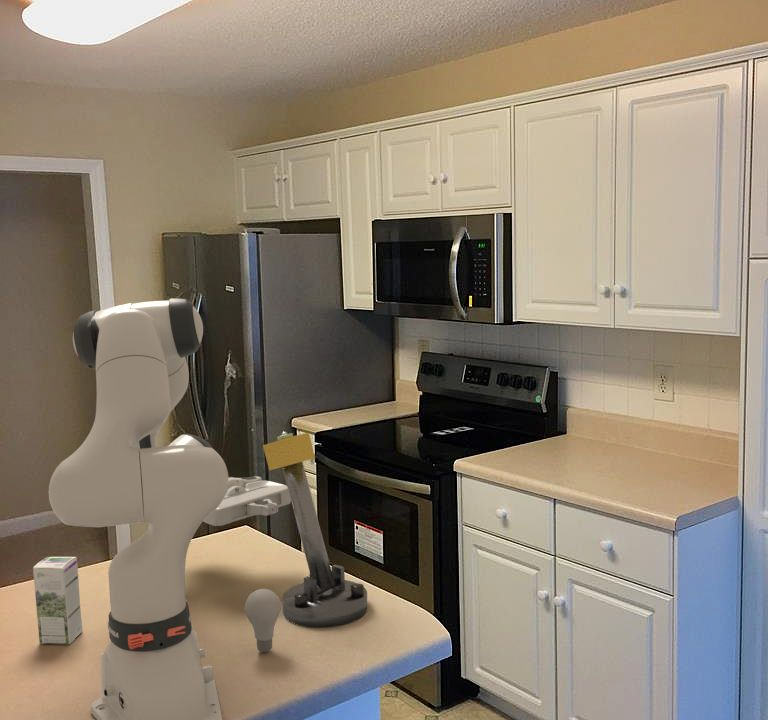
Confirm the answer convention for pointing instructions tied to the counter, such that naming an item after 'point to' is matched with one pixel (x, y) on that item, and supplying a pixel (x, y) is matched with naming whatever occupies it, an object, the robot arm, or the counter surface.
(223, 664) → the counter surface
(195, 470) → the robot arm
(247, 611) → the lightbulb
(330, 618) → the tribrach base
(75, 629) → the syrup box
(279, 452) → the instrument mast
